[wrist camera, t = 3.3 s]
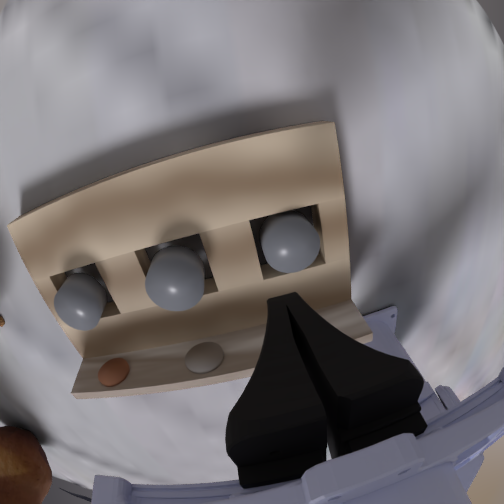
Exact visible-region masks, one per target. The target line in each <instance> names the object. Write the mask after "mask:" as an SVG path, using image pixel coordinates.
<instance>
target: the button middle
mask: <svg viewBox="0 0 504 504" xmlns="http://www.w3.org/2000/svg"><path fill="white" fill-rule="evenodd" d="M204 274H205V269H204V264H203V262H202V260H201V258H200V257H199V256H198V255H197V254H196V253H195V252H194V251H193V250H191V249H189V248H187V247H183V246H168V247H165V248H163V249H161V250H160V251H158V252H157V253H156V254H155V256H154V257H153V259H152V262H151V264H150V267H149V270H148V273H147V276H146V279H145V289H146V292H147V294H148V296H149V298H150V299H151V300H152V301H153V302H154V303H155V304H156V305H158V306H159V307H161V308H163V309H166V310H170V311H184V310H188V309H190V308H192V307H194V306H195V305H196V304H197V303H198V302H199V301H200V300H201V298H202V296H203V293H204Z"/></svg>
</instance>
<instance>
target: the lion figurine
mask: <svg viewBox="0 0 504 504" xmlns="http://www.w3.org/2000/svg"><path fill="white" fill-rule="evenodd" d="M4 324H5V321H4V319H3V317H1V316H0V326H1V327H2V326H3V325H4Z"/></svg>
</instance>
